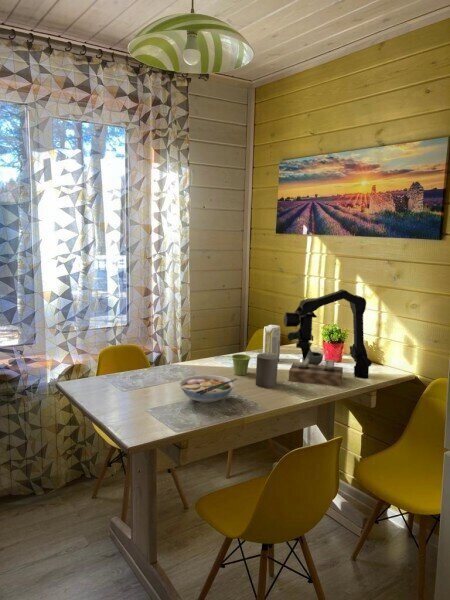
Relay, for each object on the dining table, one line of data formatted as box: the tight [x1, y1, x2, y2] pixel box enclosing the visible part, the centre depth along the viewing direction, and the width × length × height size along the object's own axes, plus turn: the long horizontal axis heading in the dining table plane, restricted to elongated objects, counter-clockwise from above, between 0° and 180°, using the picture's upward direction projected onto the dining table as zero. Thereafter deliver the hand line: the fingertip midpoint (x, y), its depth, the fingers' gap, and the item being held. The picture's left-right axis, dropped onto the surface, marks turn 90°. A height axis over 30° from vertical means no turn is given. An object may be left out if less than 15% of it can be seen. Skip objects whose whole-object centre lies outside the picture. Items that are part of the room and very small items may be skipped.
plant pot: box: [231, 353, 252, 377], centre depth 246 cm, size 9×9×9 cm
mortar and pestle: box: [306, 348, 324, 365], centre depth 261 cm, size 11×9×12 cm
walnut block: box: [288, 362, 344, 387], centre depth 241 cm, size 24×14×5 cm, turn 75°
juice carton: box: [262, 324, 282, 361], centre depth 269 cm, size 8×9×19 cm
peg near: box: [324, 359, 335, 372], centre depth 239 cm, size 4×4×5 cm
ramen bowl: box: [178, 374, 238, 404], centre depth 209 cm, size 25×23×8 cm
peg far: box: [299, 356, 308, 369], centre depth 242 cm, size 4×4×5 cm
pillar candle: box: [255, 352, 279, 389], centre depth 230 cm, size 10×10×15 cm
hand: (304, 358), depth 241 cm, fingers closed
